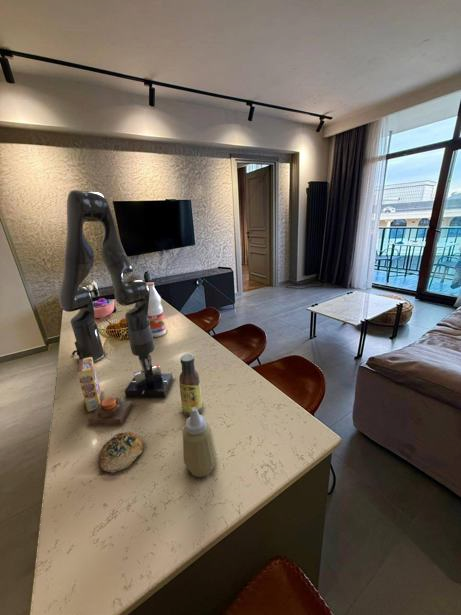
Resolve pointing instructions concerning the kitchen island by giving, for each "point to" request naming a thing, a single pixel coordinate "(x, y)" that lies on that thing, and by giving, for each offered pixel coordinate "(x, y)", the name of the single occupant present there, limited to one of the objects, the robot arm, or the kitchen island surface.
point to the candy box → (89, 383)
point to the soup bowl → (103, 307)
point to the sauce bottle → (189, 385)
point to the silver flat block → (141, 377)
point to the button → (109, 403)
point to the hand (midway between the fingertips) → (149, 381)
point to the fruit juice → (155, 312)
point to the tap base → (150, 388)
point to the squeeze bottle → (198, 445)
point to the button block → (111, 413)
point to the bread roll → (120, 452)
